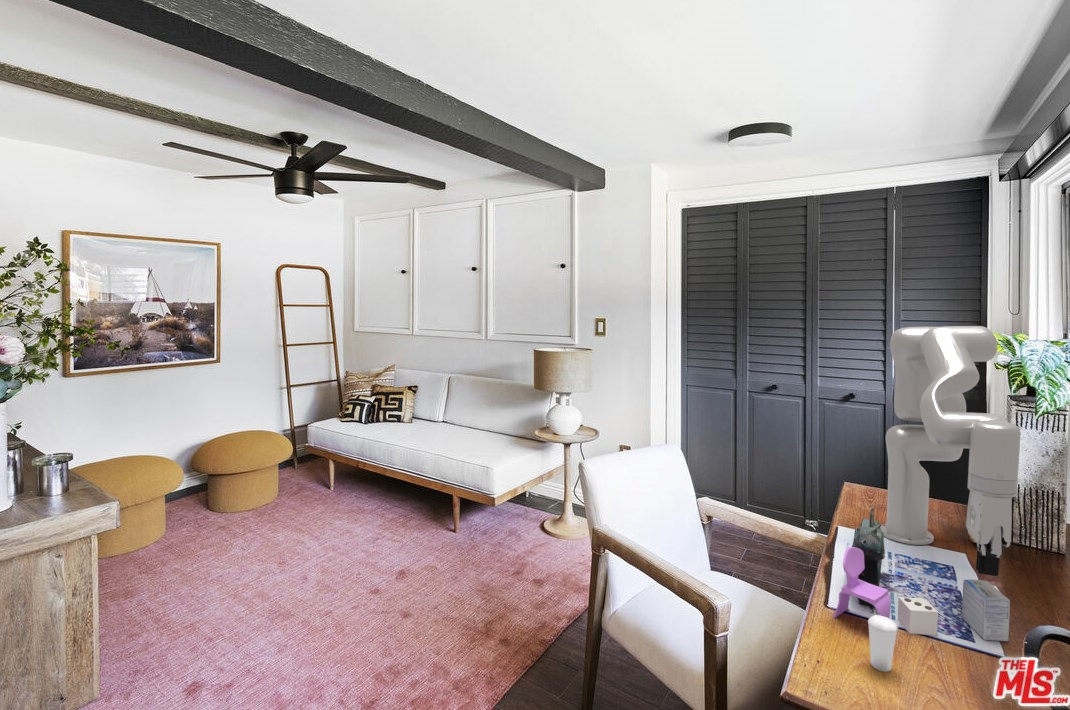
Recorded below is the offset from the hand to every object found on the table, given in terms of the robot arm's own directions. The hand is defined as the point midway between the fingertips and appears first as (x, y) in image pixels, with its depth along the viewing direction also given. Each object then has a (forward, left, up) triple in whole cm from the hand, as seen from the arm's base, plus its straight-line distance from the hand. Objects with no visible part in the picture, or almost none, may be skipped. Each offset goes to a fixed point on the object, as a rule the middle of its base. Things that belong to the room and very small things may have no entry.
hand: (986, 573), depth 111 cm
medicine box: (0, 0, -12) cm, 12 cm away
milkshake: (+21, -20, -12) cm, 31 cm away
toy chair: (+6, -22, -12) cm, 26 cm away
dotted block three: (+4, -12, -12) cm, 17 cm away
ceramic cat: (-9, -19, -12) cm, 25 cm away
